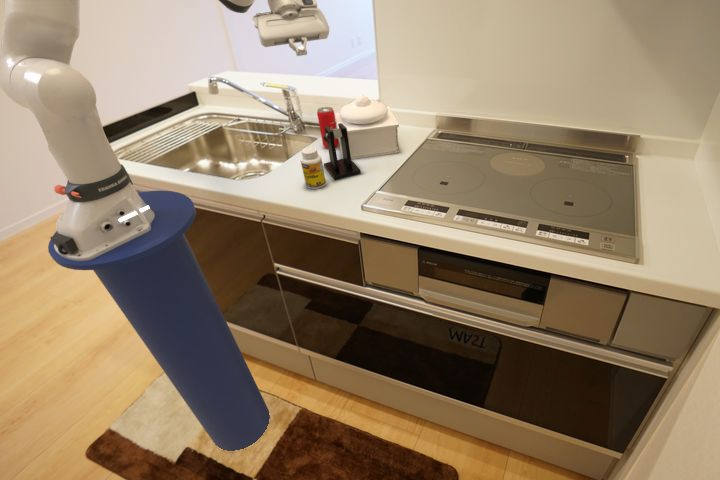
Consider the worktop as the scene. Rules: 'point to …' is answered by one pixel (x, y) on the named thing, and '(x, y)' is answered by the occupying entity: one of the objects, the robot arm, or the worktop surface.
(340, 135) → the tap lever
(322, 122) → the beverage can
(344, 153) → the bracket
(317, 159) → the supplement bottle
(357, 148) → the white box with dome
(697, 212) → the worktop surface
